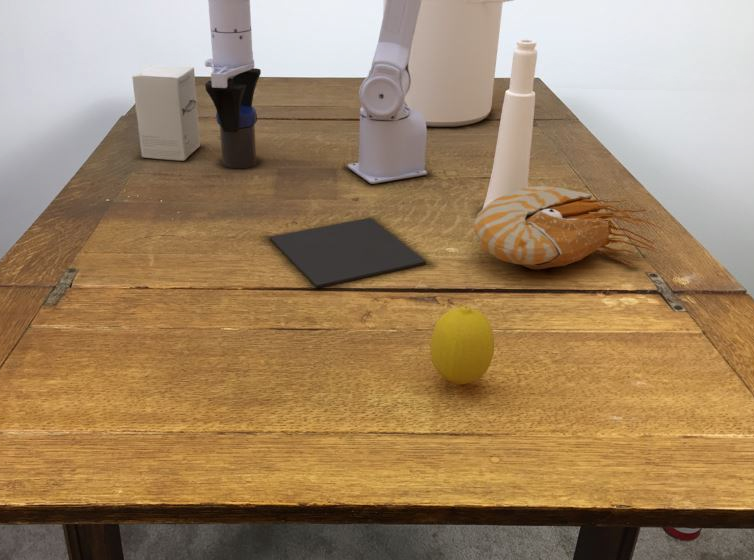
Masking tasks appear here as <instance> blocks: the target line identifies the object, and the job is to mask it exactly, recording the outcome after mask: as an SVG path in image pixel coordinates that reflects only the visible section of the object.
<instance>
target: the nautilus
mask: <svg viewBox="0 0 754 560" xmlns="http://www.w3.org/2000/svg"><path fill="white" fill-rule="evenodd" d="M592 197H593V193H586V192H581V191H577V190H571V189H566V188H562V187H561V188H560V187H558V186H557V187H555V186H542V185H541V186H539V185H536V186H535V185H534V186H530V187H528V188H525V189H520V190H517V191H514V192H512V193H509V194H507V195H505V196H502V197H500V198H497V199H495V200H494V201H492V202H491V203H490V204H488V205H487V206H486V207H485V208H484V209H483V208H482V209H481V210H480V211H479V212H478V213H477V215H476V217H475V219H474V221H473V230H474V233H475V235H476V236H477V238H478V241H479V243H480V247H481V249H482V250H484V251H485V252H487V254H489V255H491V256H493V257H494V258H496V259H499V260H501V261H503V262H507V263H511V264H515V265H519V266H520V265H521V266H523V267H525V268H527V269H530V270H543V269H549V268H556V267H564V266H567V265H570V264H573V263H576V262H579V261H582V260H583V259H584V258H585V257H587V256H589V255H590V254H593V253H597V254H598V253H600V254H603V255H605V256H608V257H610V258H611V259H613V260H616V261H618V262H621V263H624V264H625V265H628V266H630V267H633V265H632V264H630V263H628V262H626V261H624V260H622V259H619V258H617V257H615V256H613V255H612V254H613V253H616V254H619V255H622V256H625V257H628V258H631V259H634V257H632V256H631V255H629V254H625V253H623V252H628V253H631V254H635V252H634V251H632V250H628V249H625V248H624V249H623V248H622V249H615V248H612V247H609V246H607V245H609V244H610V243H612V244H614V243H622V244H627V245H630V246H634V247H637V248H641V249H645V250H648V251H652V252H655V253H657V250H656V248H655V247H653V246H652V245H655V242H653V241H652V240H650V239H648V238H646V237H644V236H641V235H640V234H638V233H635V232H634V231H631V230H629V229H627V228H623V227H618V226H617V227H616V226H615V224H614V223H613V221H611V220H609V219H612V218H613V219H618V220H620V221H624V222H627V223H630V224H632V225H635V226H637V227H638V228H640V229H643V228H642V225H641V224H640V223H639V222H643V223H647V224H649V225H652V226H653V227H654V226H655V227H657V228H658V229H661V227H660V226H659V225H657V224H655V223H653V222H650V221H647V220H644V219H641V218H637V217H632V216H631V215H630V214H629V213H627V212H630V213H639V212H646V211H647V209H639V210H631V209H620V208H618V207H617V206H614V205H611V204H600V203H599V202H604V203H621V202H622V203H623V202H625V201H627V199H622V200H611V201H606V200H603V199H592ZM601 210H608V211H611V212H599V211H601ZM614 212H615V213H620V214H621V213H622V214H623V215H618V214H615V213H614ZM628 219H630V220H628ZM631 220H632V221H631ZM612 230H615V231H616V232H618V230H620V231H625V232H628V233H629V234H632V235H634V236H636V237H639V238H641V239H643V240H645V241H647V242H649V243H651V244H652V245H650V244H648V243H646V242H644V241H641V240H639V239H637V238H636V237H632V236H630V235H628V234H626V233H624V234H623V233H615V232H613V231H612ZM610 235H611V236H613V237H610ZM614 236H615V237H614ZM616 236H617V237H616ZM619 237H626V238H627V239H630V240H632V241H635V242H637V243H639V244H641V245H638V244H635V243H632V242H629V241H626V240H622V238H619ZM642 245H644V246H642ZM646 246H647V247H646ZM600 249H603V250H604V251H603V250H600Z"/></svg>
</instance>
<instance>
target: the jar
mask: <svg viewBox="0 0 754 560" xmlns="http://www.w3.org/2000/svg"><path fill="white" fill-rule="evenodd" d="M255 125H256V123H255V124H254V125H251V126H247V127H240V128H239V129H238V132H236V133H235V132H224V131H223V129H222V126H221V125H219V134H220V135H219V136H220V148H221V149H220V150H221V162H222V165H223V166H224V167H226V168H229V169H239V170H241V169H248V168H251V167H254V166H255V165H256V164H257V146H256V145H257V143H256V126H255Z"/></svg>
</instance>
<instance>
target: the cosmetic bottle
mask: <svg viewBox="0 0 754 560" xmlns="http://www.w3.org/2000/svg"><path fill="white" fill-rule="evenodd" d="M516 46H517V47H516V48H514V51H513V55H512V63H511V71H510V79H509V88H508V89H507V90H505V93H504V98H503V102H502V103H503V104H502V109H501V115H500V121H499V127H498V133H497V140H496V146H495V152H494V158H493V163H492V169H491V173H490V174H491V175H490V179H489V184H488V188H487V193H486V197H485V200H484V204H483V207H482V210H483V209H484V208H485V207H486V206H487V205H488V204H490V203H491V202H492V201H494V200H495V199H497V198H500V197H502V196H505V195H507V194H509V193H512V192H514V191H517V190H520V189H525V188H529V172H530V160H531V149H532V138H533V127H534V116H535V107H536V106H535V105H536V92H535V91H534V89H533V88H534V82H535V74H536V68H537V59H538V51H537V49H536V47H537V41H536V40H533V39H519V40H517V42H516Z"/></svg>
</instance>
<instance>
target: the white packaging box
mask: <svg viewBox="0 0 754 560" xmlns="http://www.w3.org/2000/svg"><path fill="white" fill-rule="evenodd" d="M131 79H132V86H133V95H134V101H135V112H136V120H137V127H138V128H137V129H138V136H139V137H138V138H139V144H140V145H139V146H140V152H141V153H140V154H141V158H145V159H156V160H167V161H168V160H169V161H181V162H184V161H186V160H187V159H188V157H189V156H191V155H192V154H193V153H194V152H195V151H196V150H197V149H199V148H200V147H201V136H200V124H199V123H200V122H199V110H198V100H197V99H198V98H197V87H196V75H195V67H194V66H179V65H178V66H177V65H158V64H157V65H154V64H153V65H152V64H151V65H149V66H147V67H146V68H144V69H142V70H140V71H139V72H137V73H135V74H134V75H132V78H131Z"/></svg>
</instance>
